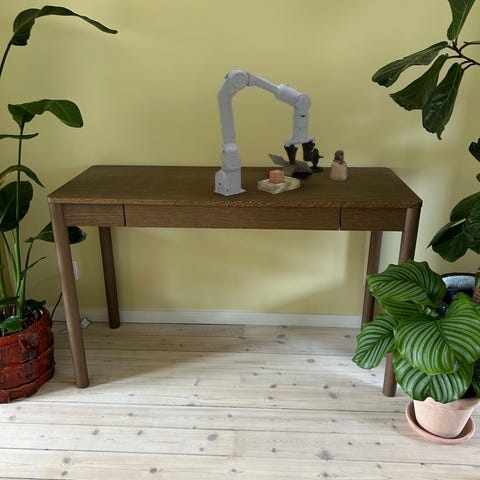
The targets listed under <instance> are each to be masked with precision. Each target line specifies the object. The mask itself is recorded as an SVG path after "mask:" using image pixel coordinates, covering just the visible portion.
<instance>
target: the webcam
mask: <svg viewBox="0 0 480 480" xmlns="http://www.w3.org/2000/svg"><path fill="white" fill-rule="evenodd" d="M324 158H325V156H323V155H320V152H319V149H318V148H316V147H314V148H313V150H312V152H311V155H310V158H309V161H308V162H307V163H309V162H311V164H312V165H311V166H309V167H310V169H311V170H312V172H313V173H322V172H323V171H324V168H323V167H321V166H320V165H319V166H318V164H319V162H320V159H324Z"/></svg>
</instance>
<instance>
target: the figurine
mask: <svg viewBox="0 0 480 480" xmlns="http://www.w3.org/2000/svg"><path fill="white" fill-rule="evenodd" d="M344 154H345V151H344V150H342V149H338V150H336V151H335V152H334V157H333V160H332V163H330V164H331V165H330V171H329V172H330V173H329V179H330V180H333V181H339V182H341V181H346V180H347V179H348V165H347V161H346V160H345V157H344V156H345V155H344Z"/></svg>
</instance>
